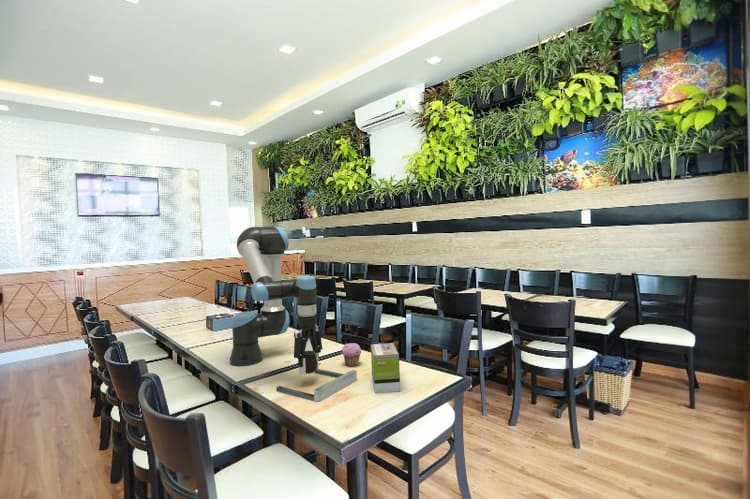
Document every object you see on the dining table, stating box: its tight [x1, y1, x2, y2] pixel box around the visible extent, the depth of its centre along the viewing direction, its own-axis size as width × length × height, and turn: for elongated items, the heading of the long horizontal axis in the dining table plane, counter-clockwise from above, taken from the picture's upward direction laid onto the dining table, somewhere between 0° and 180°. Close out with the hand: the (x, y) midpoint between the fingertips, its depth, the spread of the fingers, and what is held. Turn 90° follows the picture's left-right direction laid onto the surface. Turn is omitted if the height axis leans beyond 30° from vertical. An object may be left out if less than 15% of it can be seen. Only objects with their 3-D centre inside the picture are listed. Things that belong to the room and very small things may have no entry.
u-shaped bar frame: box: [275, 368, 358, 403], centre depth 156 cm, size 21×24×4 cm
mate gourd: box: [304, 347, 319, 375], centre depth 159 cm, size 7×8×10 cm
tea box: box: [370, 342, 401, 394], centre depth 155 cm, size 15×10×15 cm, turn 5°
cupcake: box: [341, 342, 362, 367], centre depth 181 cm, size 9×9×10 cm
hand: (309, 371), depth 159 cm, fingers closed on mate gourd, 7 cm apart
